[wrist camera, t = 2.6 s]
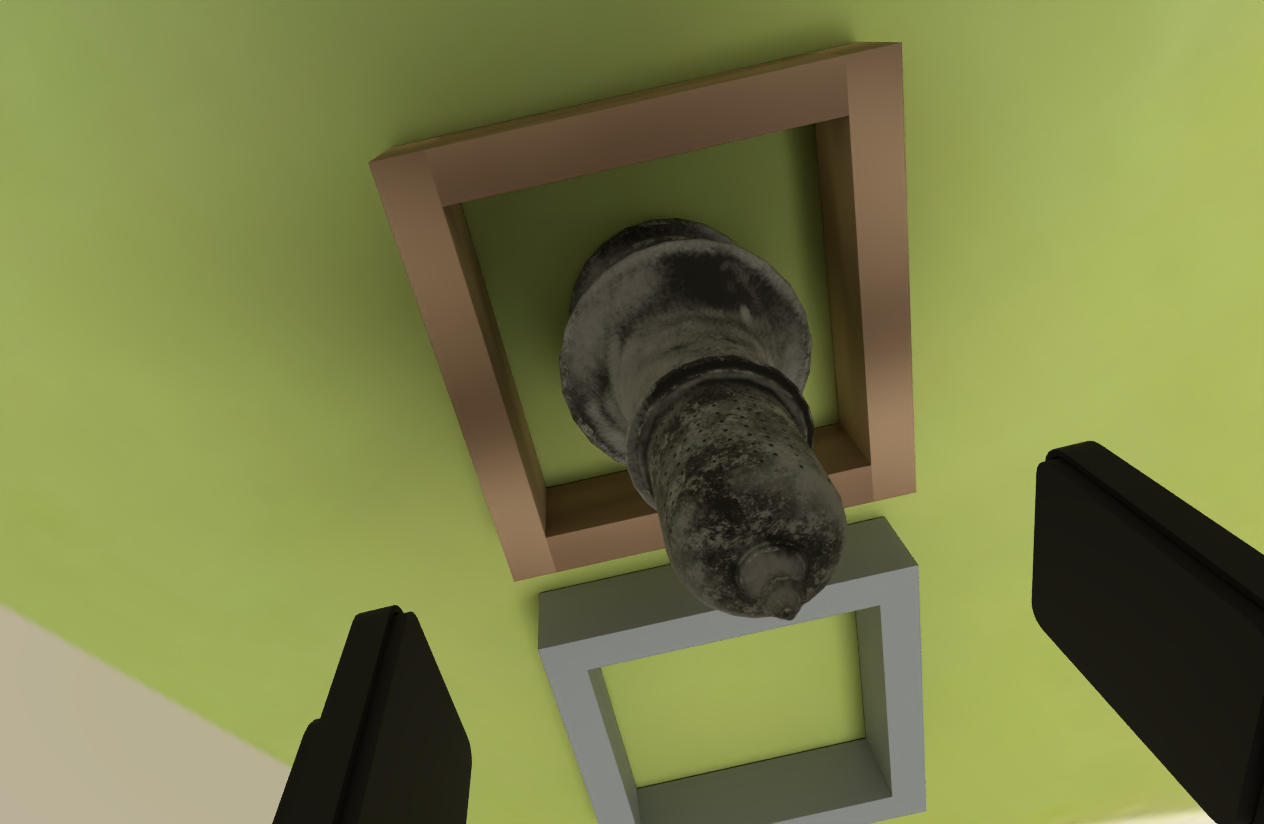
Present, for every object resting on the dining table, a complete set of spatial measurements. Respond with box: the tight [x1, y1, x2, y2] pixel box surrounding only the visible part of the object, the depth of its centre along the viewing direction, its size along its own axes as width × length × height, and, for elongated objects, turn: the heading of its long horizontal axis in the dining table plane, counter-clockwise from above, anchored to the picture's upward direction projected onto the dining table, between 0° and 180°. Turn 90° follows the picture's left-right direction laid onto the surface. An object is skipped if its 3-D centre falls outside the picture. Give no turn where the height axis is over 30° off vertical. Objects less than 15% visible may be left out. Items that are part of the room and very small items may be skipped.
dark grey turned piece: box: [559, 218, 848, 621], centre depth 15 cm, size 6×6×12 cm
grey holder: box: [538, 517, 926, 824], centre depth 26 cm, size 11×11×2 cm
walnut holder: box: [369, 42, 916, 582], centre depth 19 cm, size 11×11×2 cm
